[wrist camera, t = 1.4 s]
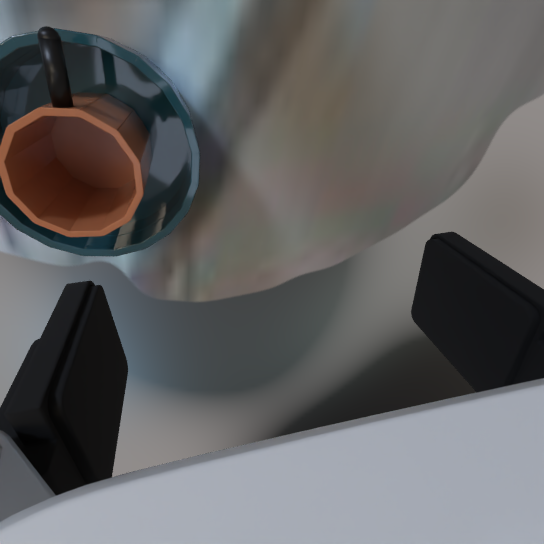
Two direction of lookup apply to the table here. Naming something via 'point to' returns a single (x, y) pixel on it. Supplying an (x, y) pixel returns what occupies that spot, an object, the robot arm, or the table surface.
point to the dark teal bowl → (134, 93)
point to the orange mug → (75, 156)
